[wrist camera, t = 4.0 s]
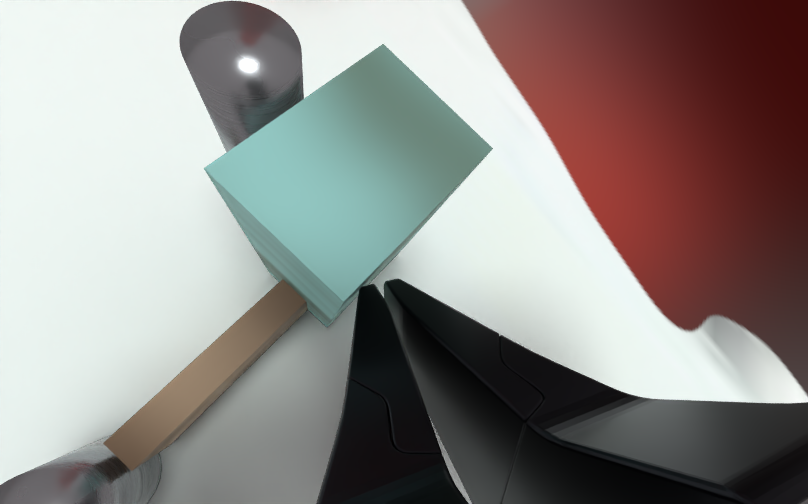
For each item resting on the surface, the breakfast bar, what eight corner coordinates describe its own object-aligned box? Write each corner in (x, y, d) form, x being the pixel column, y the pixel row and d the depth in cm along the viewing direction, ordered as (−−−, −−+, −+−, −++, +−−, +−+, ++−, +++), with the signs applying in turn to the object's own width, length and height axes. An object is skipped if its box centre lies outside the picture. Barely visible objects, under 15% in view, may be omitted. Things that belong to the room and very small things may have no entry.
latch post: (319, 214, 17) (324, 57, 8) (282, 247, 16) (239, 114, 7) (284, 182, 17) (246, -16, 8) (245, 213, 16) (151, 33, 7)
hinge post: (179, 468, 13) (126, 517, 9) (106, 545, 12) (12, 635, 8) (122, 415, 13) (45, 443, 9) (43, 488, 12) (-78, 551, 8)
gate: (194, 465, 13) (-90, 746, 4) (125, 400, 13) (-318, 529, 4) (398, 252, 17) (492, 148, 8) (347, 203, 17) (383, 44, 8)
